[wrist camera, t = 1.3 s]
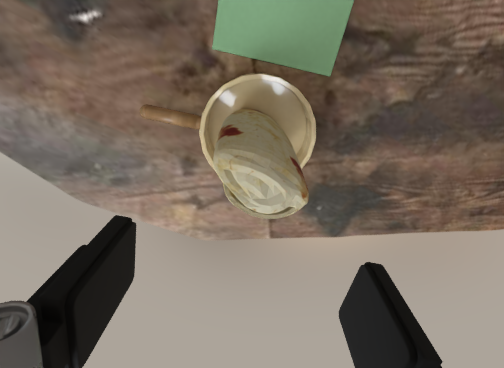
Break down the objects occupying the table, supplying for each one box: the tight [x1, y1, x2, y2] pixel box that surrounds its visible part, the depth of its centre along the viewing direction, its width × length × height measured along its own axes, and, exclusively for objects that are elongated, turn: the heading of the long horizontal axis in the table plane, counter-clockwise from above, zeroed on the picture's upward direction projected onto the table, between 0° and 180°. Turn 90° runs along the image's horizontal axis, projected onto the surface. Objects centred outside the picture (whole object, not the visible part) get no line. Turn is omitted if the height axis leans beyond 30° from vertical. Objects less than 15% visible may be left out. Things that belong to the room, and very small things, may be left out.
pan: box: [199, 72, 316, 171], centre depth 37 cm, size 15×15×4 cm
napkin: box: [212, 0, 354, 76], centre depth 32 cm, size 16×14×1 cm
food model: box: [213, 109, 308, 219], centre depth 30 cm, size 10×7×20 cm
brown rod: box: [140, 105, 201, 129], centre depth 35 cm, size 8×2×2 cm, turn 78°
